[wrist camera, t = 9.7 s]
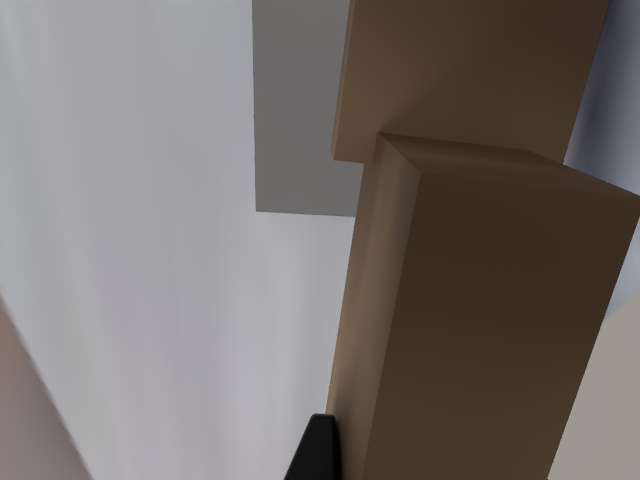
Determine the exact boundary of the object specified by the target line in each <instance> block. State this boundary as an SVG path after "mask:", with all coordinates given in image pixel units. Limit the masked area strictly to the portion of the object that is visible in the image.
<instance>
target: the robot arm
mask: <svg viewBox="0 0 640 480" xmlns="http://www.w3.org/2000/svg"><path fill="white" fill-rule="evenodd" d="M284 480H338V472H337V444H336V420H335V416H334V415H332V414H313V415H312V416H311V418H310V420H309V423H308V425H307V427H306V429H305V432H304V434H303V436H302V439H301V441H300V443H299V446H298V448H297V450H296V453H295V455H294V457H293V459H292V462H291V464H290V466H289V469H288V471H287V473H286V476H285V478H284ZM547 480H548V479H547Z"/></svg>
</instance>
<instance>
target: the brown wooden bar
mask: <svg viewBox="0 0 640 480" xmlns="http://www.w3.org/2000/svg"><path fill="white" fill-rule="evenodd" d="M609 2H610V0H350V5H349V13H348V20H347V28H346V36H345V43H344V51H343V58H342V66H341V74H340V81H339V89H338V97H337V104H336V112H335V119H334V127H333V135H332V142H331V150H330V151H331V154H332V157H333V159H334V160H336V161H344V162H353V163H362V164H364V167H363V173H362V180H361V186H360V193H359V199H358V206H357V212H356V219H355V225H354V231H353V238H352V244H351V251H350V257H349V264H348V270H347V277H346V283H345V290H344V296H343V302H342V309H341V315H340V322H339V328H338V335H337V341H336V348H335V354H334V361H333V367H332V373H331V380H330V386H329V393H328V399H327V406H326V412H325V414H332V415H334V416H335V420H336V444H337V472H338V480H547V477H548V474H549V471H550V469H551V466H552V463H553V460H554V457H555V454H556V452H557V449H558V446H559V443H560V440H561V438H562V435H563V432H564V429H565V426H566V423H567V421H568V418H569V415H570V412H571V409H572V406H573V404H574V401H575V398H576V395H577V392H578V389H579V386H580V383H581V381H582V378H583V375H584V372H585V370H586V367H587V364H588V361H589V358H590V355H591V353H592V350H593V347H594V344H595V341H596V339H597V336H598V333H599V330H600V327H601V324H602V322H603V319H604V316H605V313H606V310H607V307H608V305H609V302H610V299H611V296H612V293H613V290H614V288H615V285H616V282H617V279H618V276H619V273H620V271H621V268H622V265H623V262H624V259H625V256H626V254H627V251H628V248H629V245H630V242H631V240H632V237H633V234H634V231H635V228H636V225H637V223H638V220H639V217H640V196H639V195H637V194H634V193H632V192H629V191H627V190H624V189H622V188H620V187H617V186H615V185H612V184H610V183H607V182H605V181H602V180H600V179H597V178H595V177H593V176H590V175H588V174H585V173H583V172H580V171H578V170H575V169H573V168H570V167H568V166H566V165H563V161H564V157H565V154H566V150H567V147H568V143H569V140H570V137H571V133H572V130H573V126H574V123H575V119H576V116H577V112H578V109H579V105H580V102H581V98H582V95H583V92H584V88H585V85H586V81H587V78H588V74H589V71H590V67H591V64H592V60H593V57H594V54H595V50H596V47H597V43H598V40H599V36H600V33H601V29H602V26H603V22H604V19H605V15H606V12H607V9H608V5H609Z"/></svg>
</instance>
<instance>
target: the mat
mask: <svg viewBox="0 0 640 480" xmlns="http://www.w3.org/2000/svg"><path fill="white" fill-rule="evenodd" d="M349 5H350V0H252V22H253V78H254V135H255V191H256V212H275V213H293V214H311V215H329V216H347V217H356V212H357V206H358V199H359V193H360V186H361V180H362V173H363V167H364V164H362V163H353V162H344V161H336V160H334V159H333V157H332V154H331V151H330V150H331V142H332V135H333V127H334V119H335V112H336V104H337V97H338V89H339V81H340V74H341V66H342V58H343V51H344V43H345V36H346V28H347V20H348V13H349Z"/></svg>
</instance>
